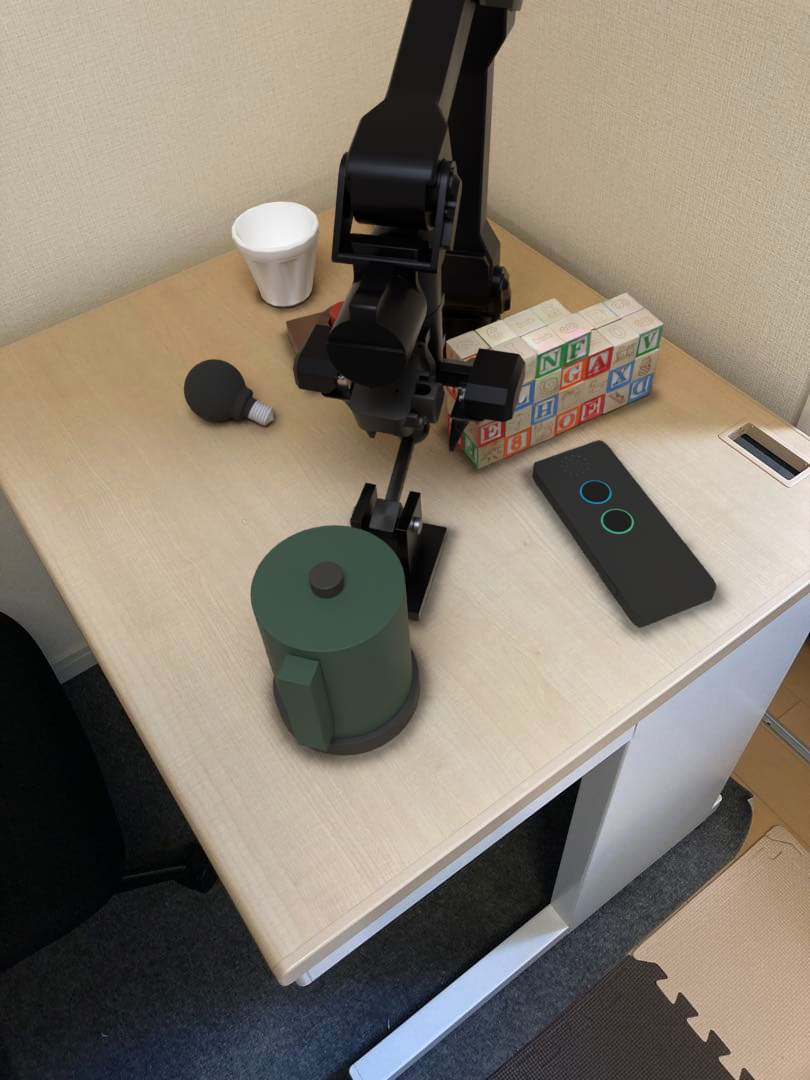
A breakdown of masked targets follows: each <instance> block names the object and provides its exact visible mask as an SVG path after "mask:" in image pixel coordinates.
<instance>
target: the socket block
mask: <svg viewBox="0 0 810 1080" xmlns="http://www.w3.org/2000/svg"><path fill="white" fill-rule="evenodd" d="M332 306H333V305H331V306H329V307H328V308H326V309H325V310H324V311H323V310H322V311H320V312H316V313H312V314H309V315H305V316H301V317H300V316H299V317H297V318H292V319H289V320H286V321H285V324H286V331H287V335H288V339H289V341H290V343H291V345H292V347H293V349H294V352H295V354H296V355H297V353H298V351H299V349H300V348H301V346H302V344H303V342H304V340H305V338H306V336H307V335H308V333H309V331H310V329H312V328H313V327H314V326H315V325H316V324H320V325H326V326H332V324H331V317H330V309H331V308H332Z"/></svg>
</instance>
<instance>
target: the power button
mask: <svg viewBox="0 0 810 1080" xmlns="http://www.w3.org/2000/svg"><path fill="white" fill-rule="evenodd" d="M344 301H345V300H341V301H338V302H336V303H335V304H333V305H331V306H332V308H331V309H330V317H331V324H332V326H333V325H334V323H335V321H336V318H337V316H338V314H339V312H340V310H341V308H342V306H343V303H344Z"/></svg>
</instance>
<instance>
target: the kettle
mask: <svg viewBox="0 0 810 1080" xmlns="http://www.w3.org/2000/svg"><path fill="white" fill-rule="evenodd" d="M249 595H250V604H251V608H252V612H253V615H254V618H255V621H256V624H257V628H258V630H259V634H260V637H261V640H262V643H263V647H264V649H265V653H266V655H267V656H266V657H267V659H268V662H269V666H270V668H271V671H272V675H273V676H272V677H273V678H272V692H273V697H274V701H275V704H276V707H277V710H278V714H279V716H280V718H281V720H282V723H283V724H284V726H285V727H286V729H287V730H288V731H289V733H290V734H291V735H292V736H293V737H294V738H295V741H296V744H297V745H300V746H303V747H307V748H310V749H312V750H314V751H316V752H320V753H324V754H328V755H332V756H354V755H359V754H364V753H368V752H371V751H374V750H376V749H378V748H380V747H382V746H384V745H386V744H388V743H389V742H391V741H392V740H393V739H394V738H396V737H397V736H399V734H400V733H401V732H402V731H403V730H404V729H405V727H406V726H407V725H408V724H409V722H410V721H411V719H412V717H413V716H414V714H415V711H416V709H417V707H418V702H419V698H420V689H421V688H420V687H421V686H420V673H419V665H418V661H417V657H416V655H415V653H414V650H413V649H412V647H411V639H410V636H411V635H410V624H409V619H408V611H407V598H406V586H405V576H404V571H403V567H402V565H401V562H400V560H399V559H398V557H397V555H396V554H395V552H394V551H393V550H392V549H391V548H390V547H389V546H388V545H387V544H386V543H385V542H384V541H383V540H381V539H380V538H378V537H377V536H375V535H373V534H371V533H369V532H367V531H364V530H361V529H358V528H354V527H351V526H348V525H336V524H334V525H333V524H332V525H331V524H330V525H321V526H320V525H319V526H314V527H310V528H307V529H304V530H301V531H299V532H296V533H294V534H292V535H289V536H288V537H286V538H285V539H283V540H281V541H279V542H278V543H277V544H276V545H275V546H273V548H271V549H270V550H269V551H268V552H267V554H265V556H264V557H263V559H261V560H260V562H259V564H258V566H257V568H256V570H255V572H254V575H253V577H252V581H251V585H250V594H249Z"/></svg>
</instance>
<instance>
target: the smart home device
mask: <svg viewBox="0 0 810 1080" xmlns="http://www.w3.org/2000/svg"><path fill="white" fill-rule="evenodd" d="M532 467H533V469H532V479H533V481H534V483H535V484H536V486H537V487H538V489H539V491H541V493H542V495H543V496H544V497H545V499H546V500H547V501H548V502H549V504H550V506H551V507H552V509H553V510H554V512H555V513H556V514H557V516H558V517H559V519H560V520H561V522H562V523H563V524H564V526H565V527H566V530H568V532H569V533H570V535H571V536H572V538H573V539H574V541H575V542H576V543H577V545H578V546H579V548H580V549H581V551H582V552H583V553H584V555H585V556H586V558H587V560H588V561H589V562H590V564H591V565H592V567H593V568H594V570H595V571H596V573H597V574H598V576H599V577H600V578H601V579H602V581H603V583H604V584H605V586H606V587H607V588H608V590H609V591H610V593H611V594H612V596H613V597H614V598H615V600H616V601H617V603H618V604H619V605H620V607H621V609H622V610H623V611H624V613H625V614H626V615H627V617H628V618H629V620H630V621H631V622H632V624H634V625H635V626H637V627H638V628H644V627H646V626H649V625H651V624H653V623H656V622H659V621H660V620H663V619H666V618H668V617H669V618H670V617H671V616H673V615H676V614H679V613H681V612H684V611H686V610H689V609H691V608H694V607H696V606H699V605H701V604H704V603H706V602H709V601H711V600H713V598H714V595H715V592H716V590H717V583H716V581H715V580H714V578H713V576H712V575H711V574H710V573H709V571H708V570H707V569H706V568H705V566H704V565H703V563H701V561H700V560H699V559H698V558H697V556H696V555H695V554H694V553H693V551H692V550H691V549H690V547H689V546H688V545H687V543H686V542H685V541H684V540H683V538H682V537H681V536H680V534H678V532H677V531H676V529H674V527H673V526H672V525H671V523H670V522H669V521H668V520H667V519H666V516H665V515H664V514H663V513H662V512H661V511H660V509H658V507H657V506H656V504H655V503H654V502H653V501H652V500H651V498H650V497H649V495H648V494H647V493H646V491H644V489H643V488H642V486H641V485H640V484H639V483H638V482H637V480H636V479H635V478H634V477H633V475H632V474H631V473H630V471H629V470H628V469H627V467H626V466H625V465H624V464H623V462H622V461H621V460H620V459H619V457H618V456H617V455H616V454H615V452H614V451H613V450H612V449H611V447H610V446H609V445H608V444H607V443H606V442H604V441H603V440H601V439H597V440H594V441H591V442H589V443H586V444H583V445H580V446H577V447H574V448H571V449H569V450H566V451H563V452H559V453H557V454H555V455H551V456H549V457H546V458H542V459H540V460H537V461H535V462H533V466H532Z"/></svg>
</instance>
